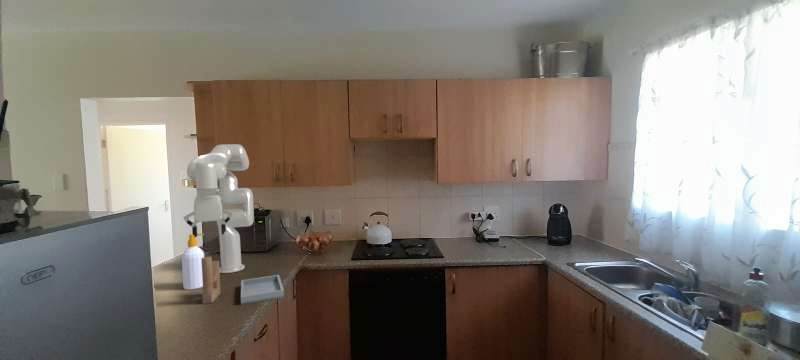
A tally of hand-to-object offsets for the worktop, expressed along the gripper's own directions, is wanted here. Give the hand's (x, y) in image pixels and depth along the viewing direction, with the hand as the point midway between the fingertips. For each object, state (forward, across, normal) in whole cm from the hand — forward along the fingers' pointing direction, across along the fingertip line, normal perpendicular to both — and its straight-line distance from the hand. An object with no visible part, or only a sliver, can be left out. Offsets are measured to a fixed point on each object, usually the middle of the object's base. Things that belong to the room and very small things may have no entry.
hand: (209, 235), depth 140 cm
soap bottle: (+26, +8, -20) cm, 34 cm away
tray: (+26, -18, +2) cm, 32 cm away
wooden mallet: (+26, 0, 0) cm, 27 cm away
